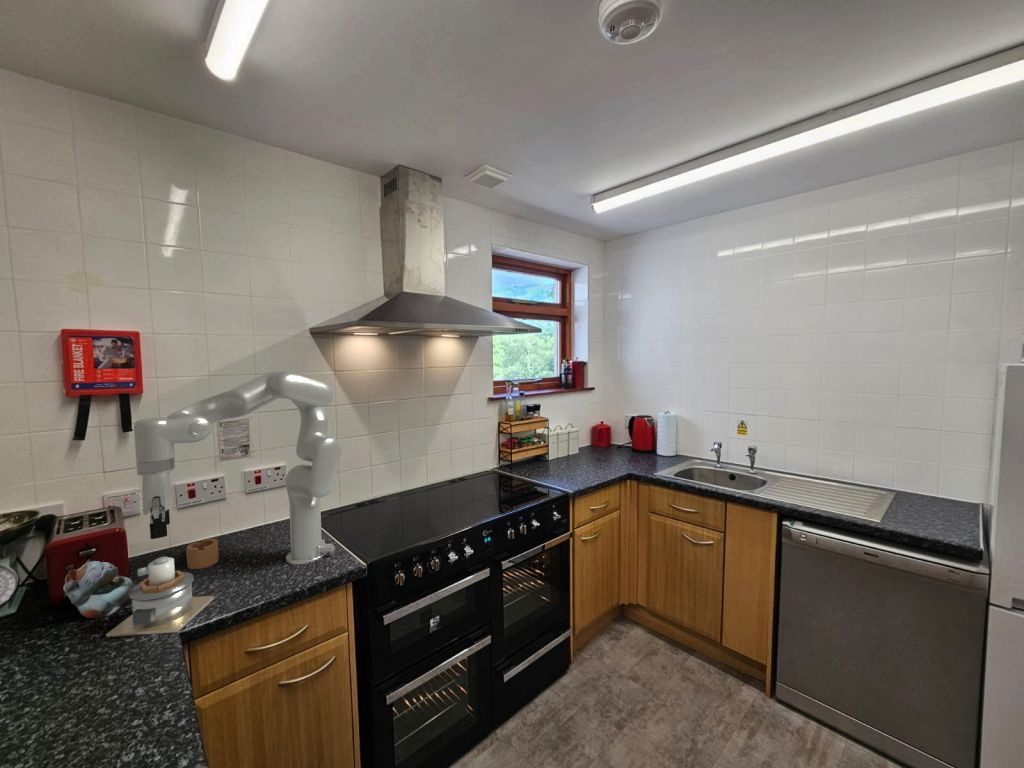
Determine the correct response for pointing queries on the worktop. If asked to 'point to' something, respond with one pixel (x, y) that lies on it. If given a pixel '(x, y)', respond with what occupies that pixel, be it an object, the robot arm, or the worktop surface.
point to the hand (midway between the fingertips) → (160, 531)
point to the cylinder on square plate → (161, 607)
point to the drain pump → (159, 571)
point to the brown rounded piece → (202, 554)
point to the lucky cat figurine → (97, 588)
